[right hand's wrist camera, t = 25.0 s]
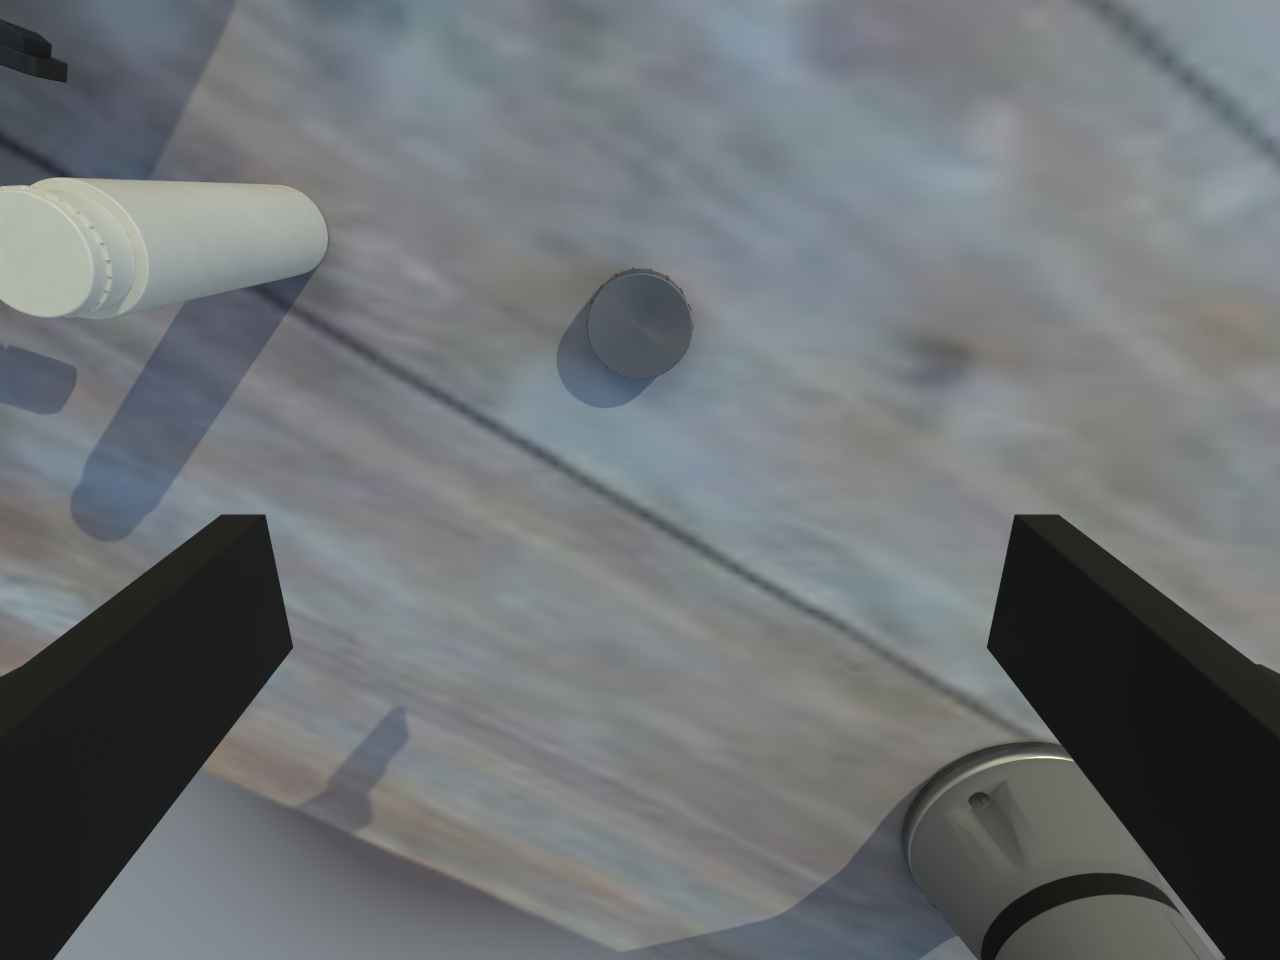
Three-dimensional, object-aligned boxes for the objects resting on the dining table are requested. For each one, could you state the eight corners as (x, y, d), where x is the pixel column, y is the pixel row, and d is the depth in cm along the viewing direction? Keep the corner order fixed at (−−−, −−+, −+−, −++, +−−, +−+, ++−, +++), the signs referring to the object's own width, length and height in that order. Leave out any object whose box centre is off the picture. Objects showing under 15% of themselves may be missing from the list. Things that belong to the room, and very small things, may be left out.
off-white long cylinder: (345, 228, 36) (132, 251, 21) (298, 293, 38) (64, 359, 22) (270, 165, 35) (-11, 140, 20) (224, 233, 36) (-75, 260, 21)
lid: (580, 359, 39) (577, 368, 37) (600, 257, 37) (597, 260, 35) (677, 380, 39) (679, 390, 37) (701, 279, 37) (705, 284, 35)
